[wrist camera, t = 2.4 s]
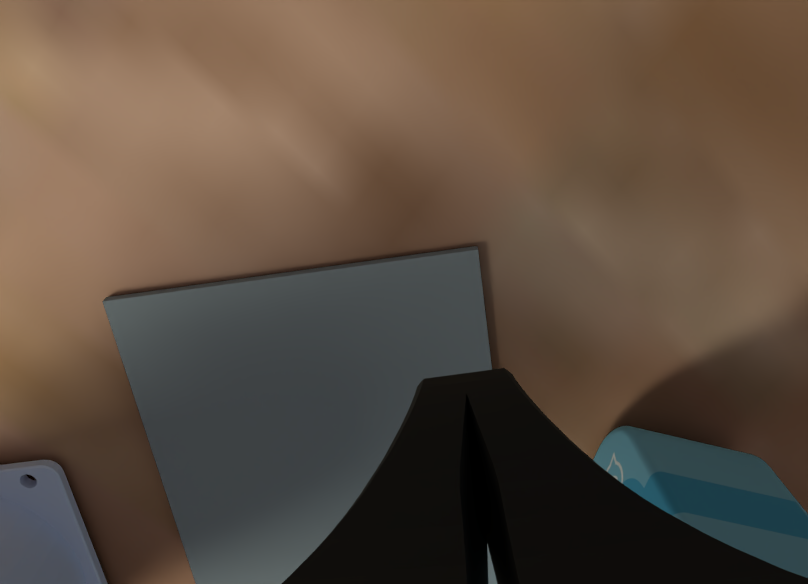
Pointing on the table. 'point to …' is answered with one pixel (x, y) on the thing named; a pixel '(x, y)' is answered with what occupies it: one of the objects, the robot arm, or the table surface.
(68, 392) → the table surface
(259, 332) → the mat
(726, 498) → the data package
